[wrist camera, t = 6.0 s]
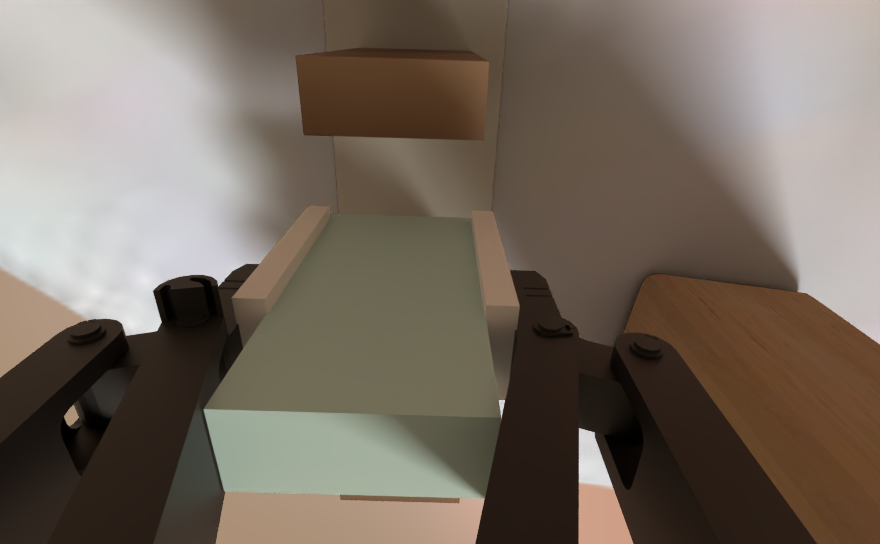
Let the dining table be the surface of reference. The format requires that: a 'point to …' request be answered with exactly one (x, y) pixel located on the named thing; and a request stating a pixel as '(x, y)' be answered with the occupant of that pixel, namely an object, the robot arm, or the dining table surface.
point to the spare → (366, 370)
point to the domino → (394, 93)
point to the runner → (419, 160)
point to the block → (783, 391)
